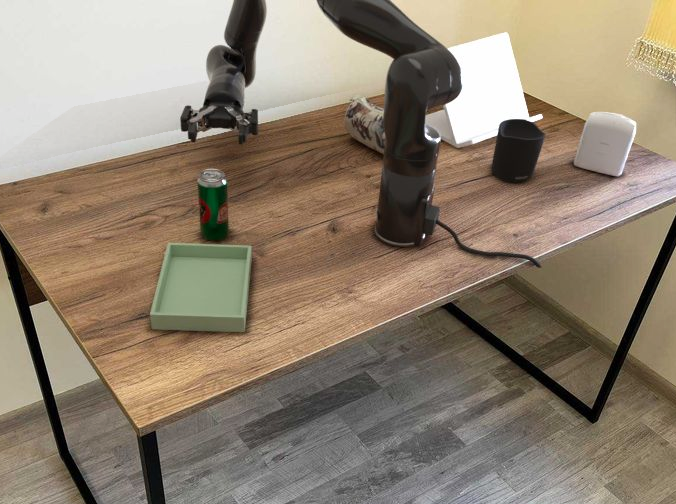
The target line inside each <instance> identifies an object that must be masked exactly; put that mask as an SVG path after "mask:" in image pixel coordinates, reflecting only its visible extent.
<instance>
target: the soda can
mask: <svg viewBox="0 0 676 504" xmlns="http://www.w3.org/2000/svg"><path fill="white" fill-rule="evenodd" d="M196 184H197V200H198V213H199V214H198V215H199V227H200V228H199V230H200V234H201V236H202V237H203V238H204V239H205V240H207V241H211V242H217V241H222V240H224V239H226V237H227V236H228V235H229V233H230V223H229V222H230V221H229V220H230V219H229V192H228V191H229V190H228V178H227V177H226V175H225V172H224V171H223V170H221V169H217V168H207V169H204V170H201V171H200V172H199V174H198V178H197V180H196Z"/></svg>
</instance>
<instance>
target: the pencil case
mask: <svg viewBox="0 0 676 504" xmlns="http://www.w3.org/2000/svg"><path fill="white" fill-rule="evenodd" d="M349 101H350V104H349V105H348V106H347V108H346V111H345V114H344V121H343V122H344V123H343V124H344V128H345V130H346V132H347V133H348V134H349V135H350V136H351V137H352V138H353V139H354V140H356V141H357V142H359V143H362V144H363V145H365V146H366V147H368V148H370V149H371V150H374V151H375V152H378V153H380V154H382V155H384V149H385V139H386V138H385V132H384V127H383V114H384V108H382V107H380V106H377V105H376V104H373V103H371V101H370V99H368V98H367V97H365V96H361V94H359V93H358V94H357V93H356V94H354V95H353V96H351V97H350V99H349Z"/></svg>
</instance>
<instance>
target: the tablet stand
mask: <svg viewBox="0 0 676 504" xmlns="http://www.w3.org/2000/svg"><path fill="white" fill-rule="evenodd" d="M446 48H447V49H448V50H449V51H450V52H451V53H452V54H453V55H454V56H455V58H456V59H457V61H458V63H459V65H460V67H461V70H462V74H463V87H462V90H461V93H460V94H459V96H458V97H457V98H456V99H455V100H453V101H452V102H450V103H448V104H446V105H444V106H442V108H443V109H441V110H438V111H435V112H432V113H429V114H426V118H425V123H426V124H428V125H430V126H432V127H434V128H435V129H436V130H437V131H438V132H439V133H440V136H441V140H442V141H444V142H446V143H448V144H449V145H450V146H453V147H454V148H457V149H460V148H464V147H468V146H471V145H475V144H477V143H480V142H482V141H485V140H488V139H491V138H493V137H497V134H498V129H499V125H500V123H501V122H502V121H504V120H508V119H524V120H529V121H531V122H533V123H534V122H536V121H538V120H541V119H543V114H542V113H540V114H539V113H538V114H537V115H533V116H529V112H528V111H529V110H528V108H527V103H526V99H525V95H524V92H523V87H522V84H521V80H520V76H519V71H518V67H517V64H516V59H515V56H514V52H513V47H512V44H511V40H510V35H509V33H507V32H503V33H499V34H495V35H491V36H487V37H484V38H480V39H477V40H473V41H469V42H466V43H462V44H459V45H454V46H451V47H446Z"/></svg>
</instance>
